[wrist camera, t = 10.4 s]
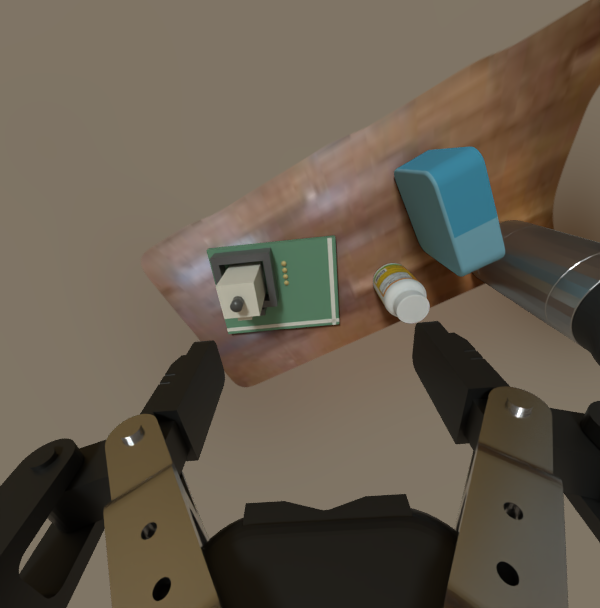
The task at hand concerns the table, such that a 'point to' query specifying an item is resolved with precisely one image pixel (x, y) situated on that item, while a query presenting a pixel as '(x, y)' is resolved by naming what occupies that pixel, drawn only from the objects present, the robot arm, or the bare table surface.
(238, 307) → the plug
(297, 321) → the header board
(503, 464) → the robot arm
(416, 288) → the supplement bottle
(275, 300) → the frame
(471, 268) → the data package
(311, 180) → the table surface
